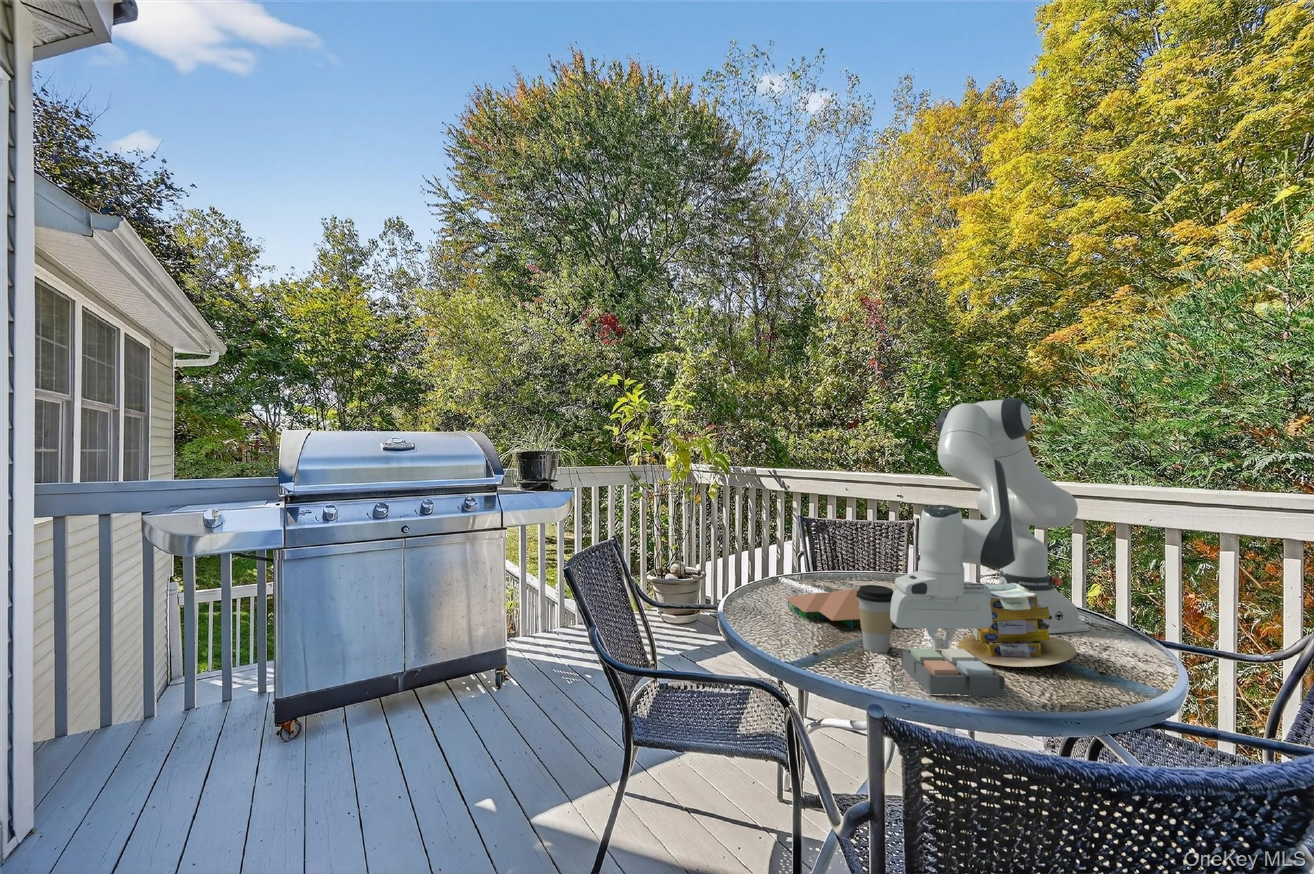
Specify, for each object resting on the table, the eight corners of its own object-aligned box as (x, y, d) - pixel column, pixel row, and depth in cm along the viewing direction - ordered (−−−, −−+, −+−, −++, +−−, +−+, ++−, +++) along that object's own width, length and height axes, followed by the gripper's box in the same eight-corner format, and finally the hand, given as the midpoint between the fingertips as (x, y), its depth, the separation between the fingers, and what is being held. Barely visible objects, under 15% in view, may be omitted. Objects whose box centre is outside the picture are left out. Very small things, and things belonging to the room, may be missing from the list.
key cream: (963, 657, 133) (963, 648, 133) (975, 666, 128) (975, 657, 128) (941, 657, 133) (941, 648, 133) (952, 666, 128) (952, 657, 128)
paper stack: (953, 662, 137) (953, 592, 137) (958, 631, 159) (959, 570, 159) (1082, 685, 125) (1082, 608, 125) (1069, 648, 146) (1069, 582, 146)
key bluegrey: (980, 670, 126) (980, 660, 126) (992, 679, 121) (992, 670, 121) (956, 669, 126) (956, 660, 126) (968, 679, 121) (968, 670, 121)
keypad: (967, 667, 134) (967, 649, 134) (1004, 696, 119) (1004, 677, 119) (901, 666, 135) (901, 649, 135) (930, 696, 120) (930, 676, 120)
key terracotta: (947, 669, 126) (947, 660, 126) (958, 679, 121) (958, 670, 121) (923, 669, 126) (923, 660, 126) (934, 679, 121) (934, 669, 121)
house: (927, 626, 164) (927, 597, 164) (816, 633, 158) (816, 603, 158) (882, 603, 186) (883, 577, 186) (784, 608, 181) (784, 581, 181)
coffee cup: (895, 644, 149) (895, 585, 149) (897, 658, 140) (897, 595, 140) (855, 640, 152) (856, 582, 152) (855, 653, 143) (856, 592, 143)
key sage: (932, 657, 133) (932, 648, 133) (942, 666, 128) (942, 657, 128) (910, 657, 133) (910, 648, 133) (919, 665, 128) (919, 656, 128)
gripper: (982, 579, 126) (982, 643, 127) (887, 578, 127) (887, 642, 127) (999, 587, 120) (998, 654, 120) (898, 586, 121) (898, 653, 121)
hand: (940, 648), depth 124 cm, fingers closed
